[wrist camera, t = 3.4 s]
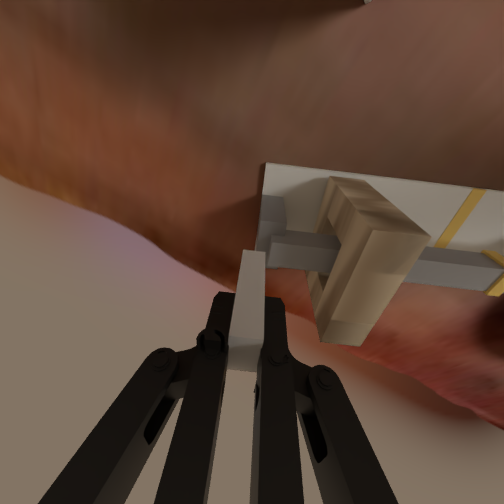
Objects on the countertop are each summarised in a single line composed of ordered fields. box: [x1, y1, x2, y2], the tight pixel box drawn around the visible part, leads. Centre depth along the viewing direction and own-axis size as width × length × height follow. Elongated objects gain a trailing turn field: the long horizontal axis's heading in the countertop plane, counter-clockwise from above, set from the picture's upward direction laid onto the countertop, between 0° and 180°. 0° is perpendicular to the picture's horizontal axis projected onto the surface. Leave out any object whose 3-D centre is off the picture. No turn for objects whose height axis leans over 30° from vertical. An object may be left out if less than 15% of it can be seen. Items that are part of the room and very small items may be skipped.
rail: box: [255, 162, 504, 296], centre depth 20 cm, size 30×10×7 cm, turn 84°
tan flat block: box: [305, 176, 432, 346], centre depth 18 cm, size 3×10×10 cm, turn 174°
